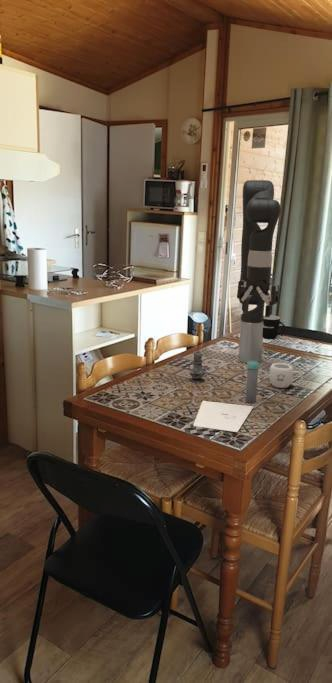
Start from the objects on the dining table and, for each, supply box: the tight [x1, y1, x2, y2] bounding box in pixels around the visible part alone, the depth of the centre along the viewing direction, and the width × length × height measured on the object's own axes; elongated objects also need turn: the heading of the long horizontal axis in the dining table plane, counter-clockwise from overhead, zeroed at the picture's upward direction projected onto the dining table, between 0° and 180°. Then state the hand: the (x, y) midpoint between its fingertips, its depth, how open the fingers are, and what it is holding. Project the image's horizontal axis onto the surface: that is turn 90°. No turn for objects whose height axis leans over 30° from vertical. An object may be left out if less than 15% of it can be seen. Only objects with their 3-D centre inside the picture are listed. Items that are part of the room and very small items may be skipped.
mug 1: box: [262, 314, 286, 340], centre depth 262 cm, size 12×9×10 cm
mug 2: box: [268, 362, 304, 389], centre depth 196 cm, size 12×8×8 cm
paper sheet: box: [192, 400, 254, 433], centre depth 172 cm, size 24×29×1 cm
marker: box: [244, 361, 260, 404], centre depth 181 cm, size 4×4×14 cm
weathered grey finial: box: [189, 349, 206, 384], centre depth 200 cm, size 6×6×12 cm
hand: (256, 314), depth 175 cm, fingers open, 8 cm apart
